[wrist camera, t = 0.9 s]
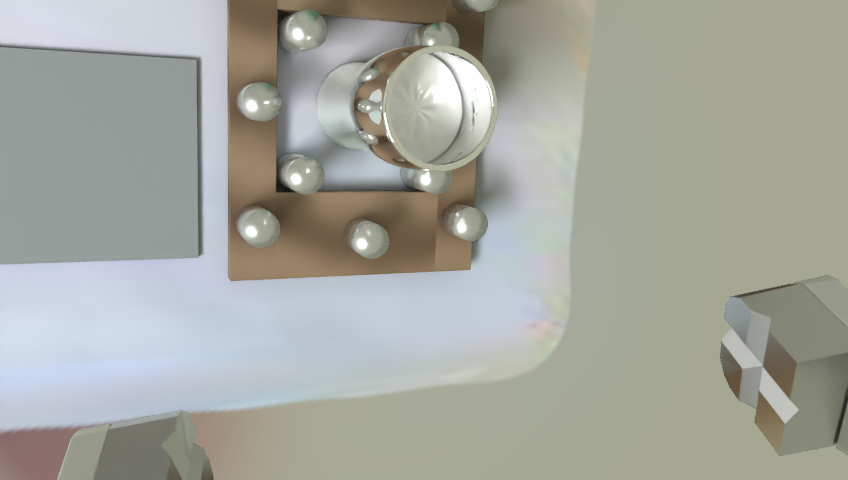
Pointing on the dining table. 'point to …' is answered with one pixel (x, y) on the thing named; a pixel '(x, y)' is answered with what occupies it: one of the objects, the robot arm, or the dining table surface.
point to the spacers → (308, 173)
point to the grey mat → (97, 157)
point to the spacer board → (332, 210)
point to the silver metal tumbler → (411, 107)
